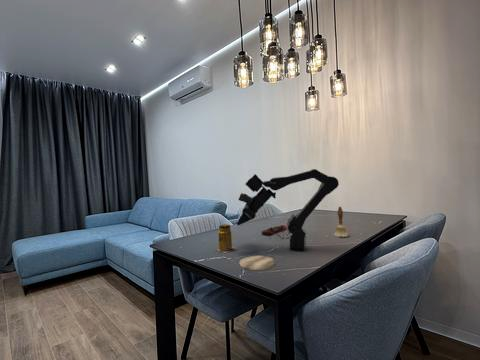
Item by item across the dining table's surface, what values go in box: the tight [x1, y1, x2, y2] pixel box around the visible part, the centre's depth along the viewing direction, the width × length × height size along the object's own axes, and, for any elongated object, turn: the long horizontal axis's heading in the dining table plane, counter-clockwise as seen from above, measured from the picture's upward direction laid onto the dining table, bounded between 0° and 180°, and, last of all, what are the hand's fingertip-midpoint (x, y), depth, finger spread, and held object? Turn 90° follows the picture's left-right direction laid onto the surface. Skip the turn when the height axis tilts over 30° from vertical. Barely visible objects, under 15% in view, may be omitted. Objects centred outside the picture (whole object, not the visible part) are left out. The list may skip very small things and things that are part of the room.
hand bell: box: [333, 206, 349, 236], centre depth 144 cm, size 8×8×16 cm
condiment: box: [216, 223, 238, 254], centre depth 128 cm, size 7×8×12 cm
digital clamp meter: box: [261, 224, 306, 240], centre depth 154 cm, size 23×4×25 cm
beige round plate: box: [238, 255, 275, 271], centre depth 107 cm, size 14×14×1 cm
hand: (238, 222), depth 127 cm, fingers open, 9 cm apart
